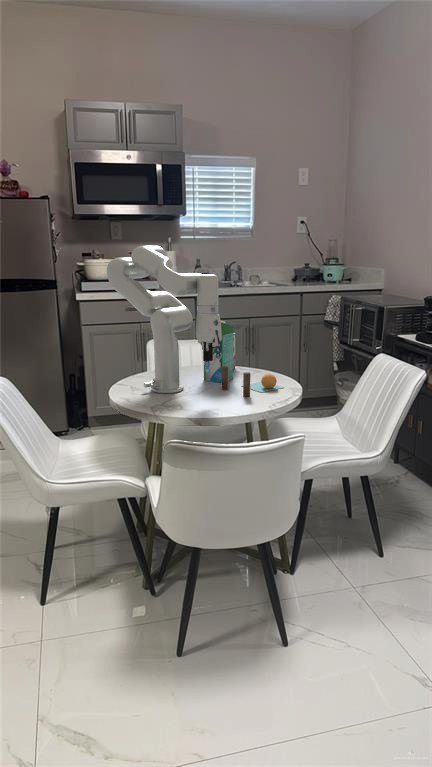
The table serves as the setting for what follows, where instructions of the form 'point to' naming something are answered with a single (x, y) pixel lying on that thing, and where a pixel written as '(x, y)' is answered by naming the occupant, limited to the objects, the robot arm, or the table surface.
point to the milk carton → (221, 356)
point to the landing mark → (260, 387)
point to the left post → (224, 377)
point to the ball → (268, 381)
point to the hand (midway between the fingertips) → (207, 360)
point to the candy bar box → (233, 351)
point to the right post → (246, 384)
